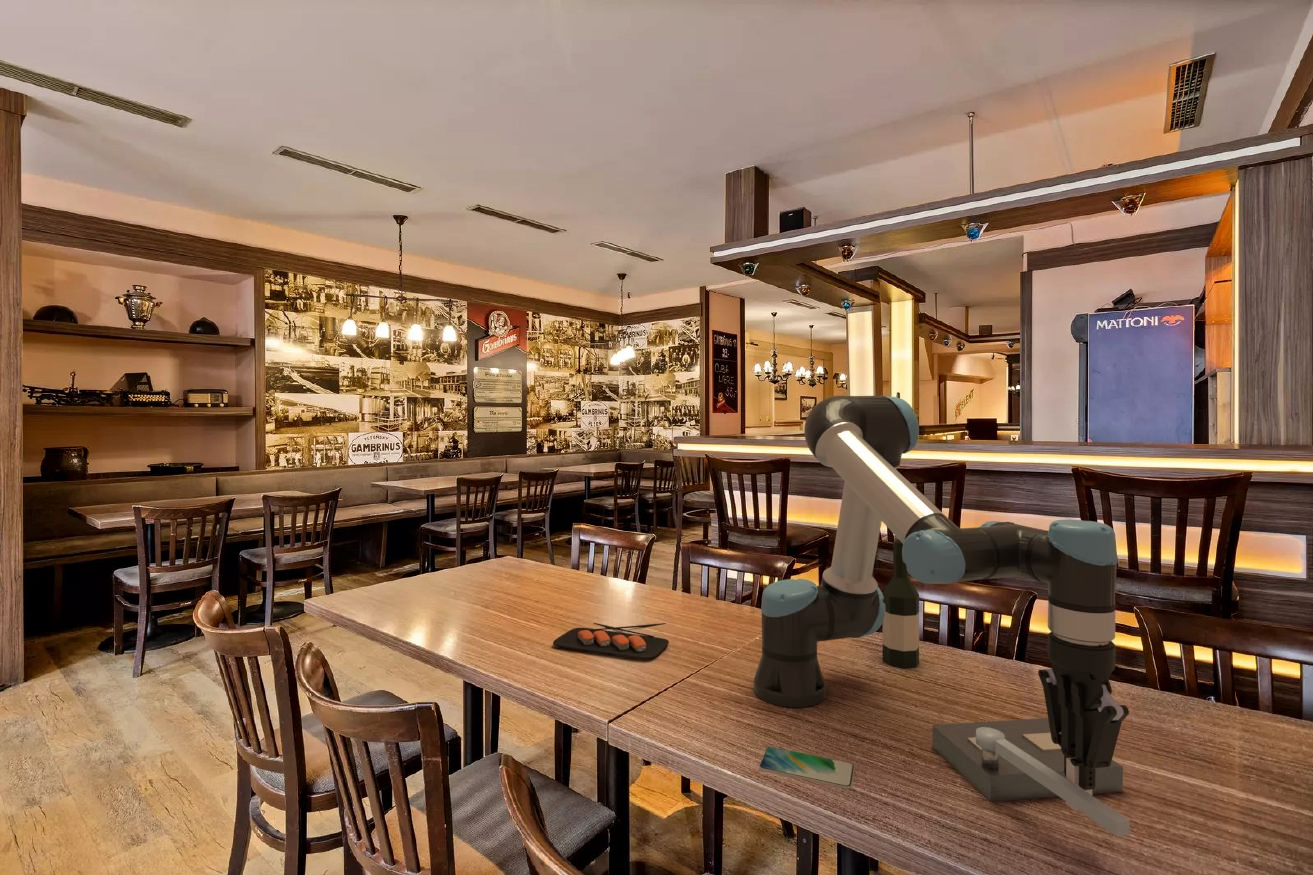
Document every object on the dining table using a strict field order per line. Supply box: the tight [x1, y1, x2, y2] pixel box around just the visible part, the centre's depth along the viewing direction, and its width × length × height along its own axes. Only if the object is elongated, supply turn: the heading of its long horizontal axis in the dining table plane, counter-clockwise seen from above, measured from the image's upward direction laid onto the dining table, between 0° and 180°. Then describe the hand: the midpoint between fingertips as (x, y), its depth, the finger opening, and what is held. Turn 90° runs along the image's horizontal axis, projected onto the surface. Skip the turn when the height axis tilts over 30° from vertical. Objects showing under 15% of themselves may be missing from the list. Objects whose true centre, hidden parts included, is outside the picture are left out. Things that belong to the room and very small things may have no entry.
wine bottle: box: [882, 537, 920, 670], centre depth 148 cm, size 8×8×30 cm
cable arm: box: [976, 727, 1131, 838], centre depth 87 cm, size 24×4×2 cm, turn 12°
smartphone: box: [758, 746, 856, 790], centre depth 103 cm, size 7×1×15 cm
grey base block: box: [932, 717, 1124, 803], centre depth 103 cm, size 22×16×7 cm
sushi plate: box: [552, 622, 670, 660], centre depth 168 cm, size 29×30×4 cm
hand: (1079, 806), depth 84 cm, fingers closed
